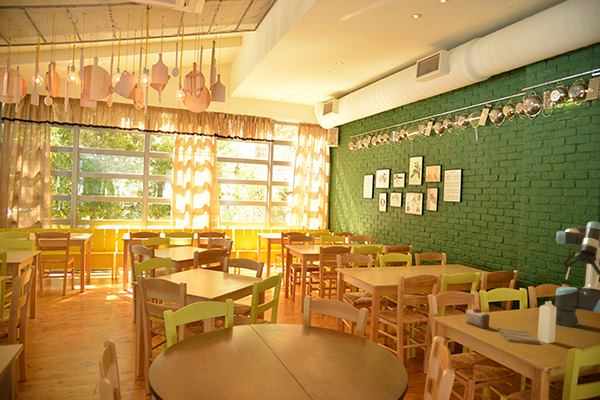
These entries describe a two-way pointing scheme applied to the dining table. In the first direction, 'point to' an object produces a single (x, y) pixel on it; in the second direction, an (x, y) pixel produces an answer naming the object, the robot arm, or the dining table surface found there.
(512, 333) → the tan board
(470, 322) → the food item
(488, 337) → the dining table surface
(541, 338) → the milk
